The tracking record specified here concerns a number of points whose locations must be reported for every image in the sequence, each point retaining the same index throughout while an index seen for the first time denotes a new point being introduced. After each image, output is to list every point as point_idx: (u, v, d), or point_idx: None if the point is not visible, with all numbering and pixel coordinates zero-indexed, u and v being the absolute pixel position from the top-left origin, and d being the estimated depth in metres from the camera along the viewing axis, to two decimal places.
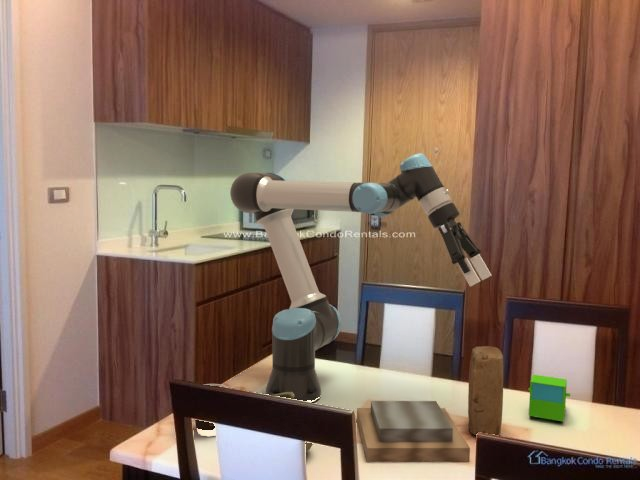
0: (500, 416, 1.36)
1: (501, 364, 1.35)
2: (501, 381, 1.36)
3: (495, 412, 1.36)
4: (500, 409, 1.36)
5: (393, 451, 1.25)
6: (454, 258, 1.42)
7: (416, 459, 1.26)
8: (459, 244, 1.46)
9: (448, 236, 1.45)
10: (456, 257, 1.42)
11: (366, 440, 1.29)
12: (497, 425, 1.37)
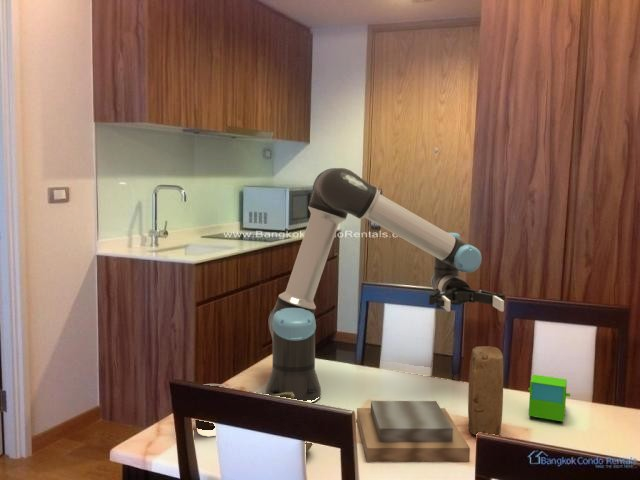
0: (500, 416, 1.36)
1: (501, 364, 1.35)
2: (501, 381, 1.36)
3: (495, 412, 1.36)
4: (500, 409, 1.36)
5: (393, 451, 1.25)
6: None
7: (416, 459, 1.26)
8: None
9: None
10: (504, 300, 1.57)
11: (366, 440, 1.29)
12: (497, 425, 1.37)
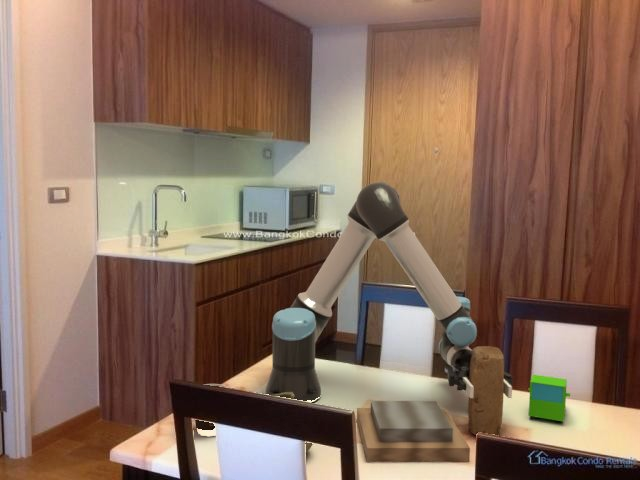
0: (500, 416, 1.36)
1: (502, 364, 1.35)
2: (502, 381, 1.36)
3: (495, 412, 1.36)
4: (500, 409, 1.36)
5: (393, 451, 1.25)
6: (512, 379, 1.44)
7: (416, 459, 1.26)
8: None
9: None
10: (512, 381, 1.44)
11: (366, 440, 1.29)
12: (497, 425, 1.37)
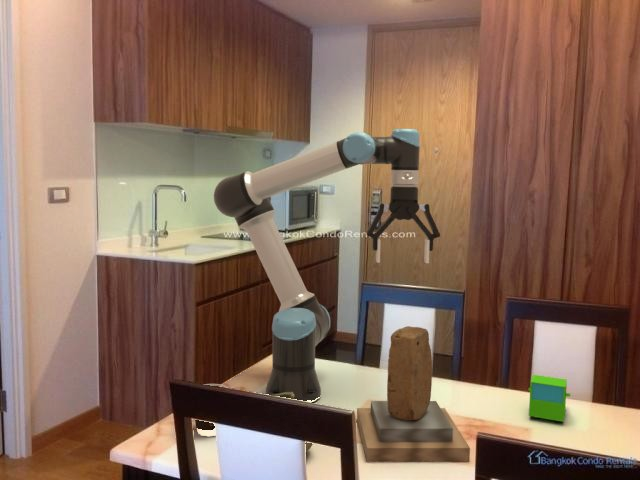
0: (411, 399, 1.30)
1: (412, 344, 1.29)
2: (412, 362, 1.29)
3: (405, 394, 1.30)
4: (411, 392, 1.30)
5: (393, 451, 1.25)
6: (366, 234, 1.64)
7: (416, 459, 1.26)
8: (383, 225, 1.62)
9: (376, 215, 1.63)
10: (367, 234, 1.64)
11: (366, 440, 1.29)
12: (409, 408, 1.30)
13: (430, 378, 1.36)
